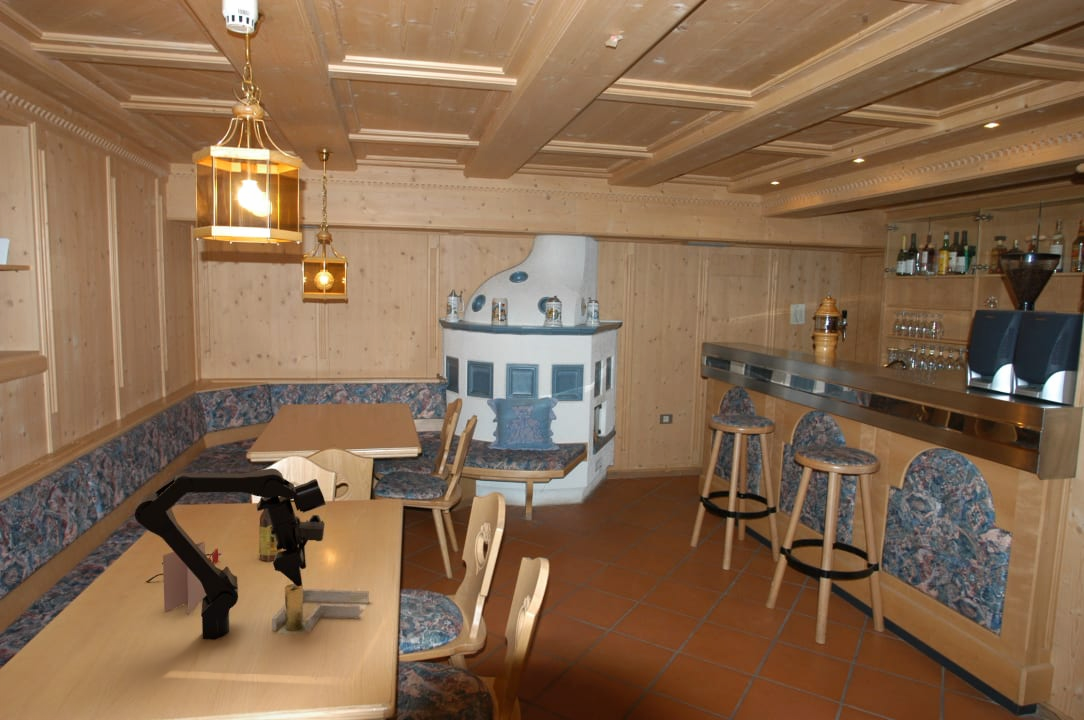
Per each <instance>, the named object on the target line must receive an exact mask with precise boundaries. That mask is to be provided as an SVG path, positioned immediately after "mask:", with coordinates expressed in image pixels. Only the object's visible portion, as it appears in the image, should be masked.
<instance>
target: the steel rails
mask: <svg viewBox="0 0 1084 720" xmlns="http://www.w3.org/2000/svg"><path fill="white" fill-rule="evenodd" d="M369 600H370V591H367V590H350V589H345V590H343V589H318V588H303V602H310V603H311V602H313V603H317V605H316V606H315V607H314V609H313V610H312V611H311V612H310V613H309V615H307V616H306V618H305V619H304V621H305V630H304V632H305V633H310V632H311V631H312V630H313V628H314V627H315V625H316V624H317V623H318V622H319V620H320V619H321V618H335V619H359V618H360V617H361V615H360V605H344V604H365V605H367V604H369V603H370V601H369ZM336 603H337V604H336ZM339 603H340V604H339ZM284 623H285V604H284V605H283V606H281V608H280V609H279V610H278V611H277V613H276V614H274V616H273V617H272V618H271V631H273V632H274V631H275V632H276V631H277V632H278V630H279V629H280V628H281V627H282V626H283V624H284Z"/></svg>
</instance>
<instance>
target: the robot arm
mask: <svg viewBox="0 0 1084 720" xmlns="http://www.w3.org/2000/svg"><path fill="white" fill-rule="evenodd" d="M188 493H243V494H249V495H251V496H255V497H259V501H258V502H257V504H256V509H257V512H259V511H263V510H264V509H266V510H267V513H268V516H269V519H270V522H271V525H272V530H271V532H272V535H273V534H275V537H276V540H277V545H276V547H277V550H279V549H281V552H278V553H277V555H276V556H275V559H274V560H273V562H272V564H273V568H274V571H277V572H280V573H281V574H282V575H284V576H285V577H286V578H288V579H289V580H290V581H291V582H292V584H295V585H296V586H303V578H302V572H301V570H304V569H306V568H307V563H306V549H305V547H306V545H307V543H308V541H316V542H322V541H323V540H324V533H325V521H324V520H321V518H320V515H319V514H312V515H311V516H310V519H309V520H308V519H307V520H306V521H301V518H300V517H299V516H298V515H296V514H295V511H294V507H293V504H292V500H293V502H294V506H295V509H296V511H300V513H301V512H302V514H304V513H307V512H310V511H312V510H316V509H318V508H320V507H323V506H326V505H327V504H326V500H325V498H324V495H323V492H322V489H321V487H320V485H319V482H318V480H317V479H316V478H314V479H311V480H310V481H308V482H304V483H302V484H299V485H297V486H295V484H294V483H292V482H291V481H289V480H287V479H285V478H284V475H283V473H281V471H280V470H279V469H276V468H264V469H257V470H253V471H250V472H247V473H246V472H245V473H190V472H187V471H186V472H185V471H184V472H180V473H178V474H177V475H176V476H175V477H174V478H173V479H171V480H170V481H169V482H167V483H166V484H164V485H162V487H160V488H159V489H157V490H156V491H155V492H150V493H147V494H145V495H144V496H142V497H141V498H140V500H139V502H138V504H137V506H136V508H135V511H134V519H135V520H136V522H137V523H138V524H139V525H141V526H142V527H143V528H145V529H146V530H147V531H149V532H150V533H152V534H154V535H155V536H157V537H158V536H159V537H160V538H161V539H162V540H163V541H164V542H165V543H166V544H167V546H168V547H169V548H170V549H171V550H172V552H175V553H176V554H177V556H178V557H179V558H180V559H181V560H182V561H183V562H184V564H185V565H186V566H187V567H188V568H189V569H190V570H191V571H192V573H193V574H194V575H195V576H196V577H197V578H198V579H199V581H200V582H201V584H202V586H203V588H204V591H205V593H206V596H205V597H204V598H203V599H202V600H201V610H200V611H201V612H200V613H201V614H200V616H201V626H202V627H201V628H202V629H201V630H202V631H201V635H202V636H201V637H202V640H218V639H221V638H222V637H225V636H226V635H228V634H229V633H230V610H231V608H234V606H235V605H236V604H237V602H238V600H239V585H238V576H237V575H234V574H233V573H232V572H231V570H230V568H229V567H228V566H225V567H224V568H223V569H221V568H219V567H217V566H216V565H215V564H213V563H212V562H213V561H212V562H211V561H210V560H209V559H208V558H209V557H208V556H206V555H205V554H206V553H205V554H204V553H203V552H202V551H201V550H200V548H199V547H198V546H197V545H196V544H197V543H196V542H194V540H193V539H192V538H191V536H190V535H189V534H188V533H187V532H186V531H185V530H184V528H182V526H181V525H180V524H179V523H178V520H177V519H176V517H175V515H174V512H173V509H172V507H173V506H175V504H176V503H177V502H178V501H179V500H180V499H182V498H183V497H184V496H185V495H186V494H188ZM263 497H266V498H268V499H266V498H263Z"/></svg>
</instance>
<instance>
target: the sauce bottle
mask: <svg viewBox="0 0 1084 720" xmlns="http://www.w3.org/2000/svg"><path fill="white" fill-rule="evenodd" d="M263 498H266V497H263ZM266 499H268V498H266ZM258 528H259V529H258V531H259V533H258V535H259V537H258V539H259V540H258V541H259V542H258V543H259V545H258V549H259V550H258V551H259V552H258V554H259V559H260V560H261V561H267V562H269V561H274V559H275V556H276V555H277V553H278V552H281V551H282V549H279V550H277V547H276V545H277V540H276V537H275V534H273V535H272V532H271V530H272V525H271V522H270V519H269V516H268V513H267V510H266V509H263V510H262V512H261V514H260V516H259V527H258Z"/></svg>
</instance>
